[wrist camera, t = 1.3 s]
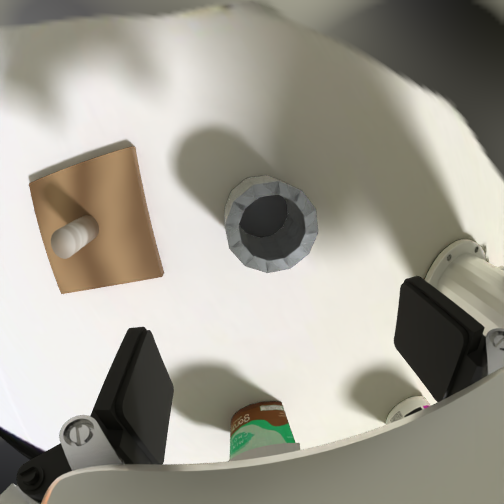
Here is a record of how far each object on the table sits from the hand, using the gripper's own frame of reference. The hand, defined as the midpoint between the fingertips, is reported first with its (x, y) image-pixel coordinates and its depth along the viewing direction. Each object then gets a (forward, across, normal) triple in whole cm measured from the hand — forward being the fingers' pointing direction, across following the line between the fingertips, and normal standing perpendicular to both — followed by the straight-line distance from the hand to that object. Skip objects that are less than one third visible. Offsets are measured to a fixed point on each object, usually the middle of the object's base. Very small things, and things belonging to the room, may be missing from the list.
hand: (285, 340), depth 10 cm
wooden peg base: (+17, +15, -3) cm, 23 cm away
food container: (+17, +4, +26) cm, 32 cm away
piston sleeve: (+17, -1, -1) cm, 17 cm away
